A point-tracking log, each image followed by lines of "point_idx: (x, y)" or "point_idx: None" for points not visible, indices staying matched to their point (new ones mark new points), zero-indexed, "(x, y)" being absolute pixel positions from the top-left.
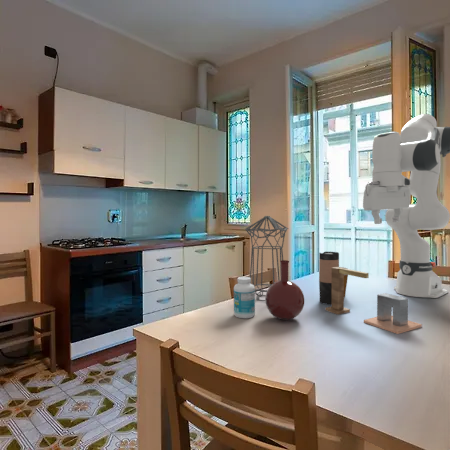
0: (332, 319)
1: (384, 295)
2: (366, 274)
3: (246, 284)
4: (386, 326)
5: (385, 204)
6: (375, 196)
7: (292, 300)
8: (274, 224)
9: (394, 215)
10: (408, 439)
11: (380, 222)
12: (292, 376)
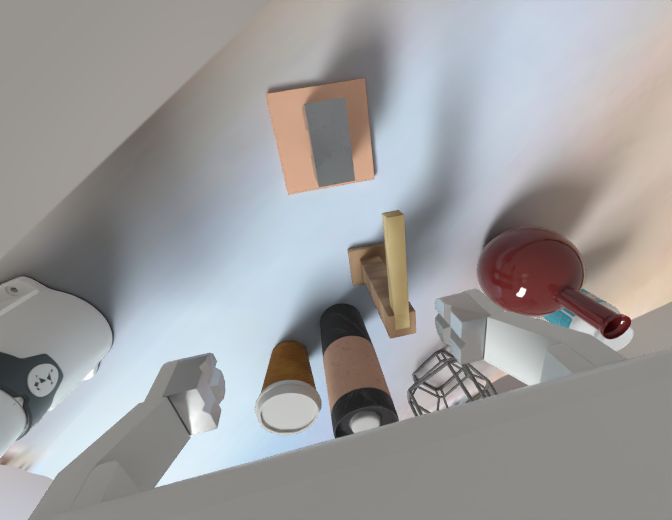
0: (418, 219)
1: (343, 164)
2: (396, 214)
3: None
4: (362, 118)
5: (593, 459)
6: None
7: (553, 233)
8: None
9: (178, 448)
10: None
11: (460, 295)
12: None
